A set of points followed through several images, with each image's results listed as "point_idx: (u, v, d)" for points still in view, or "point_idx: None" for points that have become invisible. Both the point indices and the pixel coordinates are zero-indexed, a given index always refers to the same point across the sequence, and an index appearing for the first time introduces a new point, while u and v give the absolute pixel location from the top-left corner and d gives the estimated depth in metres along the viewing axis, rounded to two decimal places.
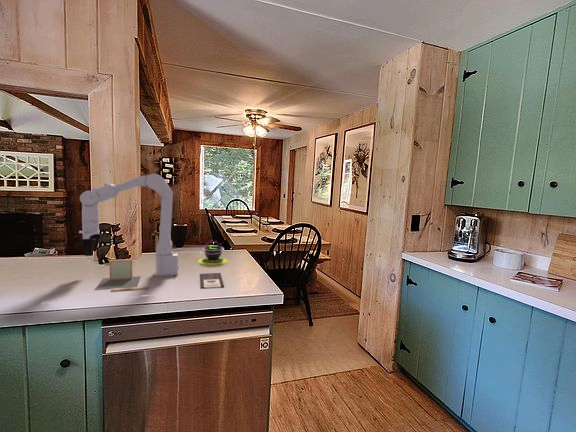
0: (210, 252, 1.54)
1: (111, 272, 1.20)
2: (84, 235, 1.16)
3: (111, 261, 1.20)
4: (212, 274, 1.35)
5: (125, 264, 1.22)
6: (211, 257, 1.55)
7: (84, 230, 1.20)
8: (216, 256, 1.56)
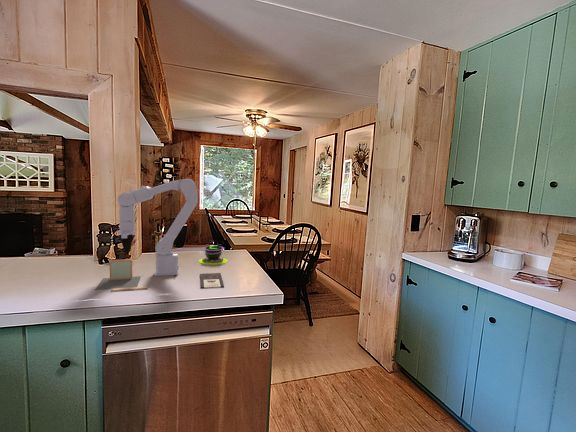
0: (210, 252, 1.55)
1: (111, 272, 1.20)
2: (123, 235, 1.22)
3: (111, 261, 1.20)
4: (213, 274, 1.35)
5: (125, 264, 1.22)
6: (211, 257, 1.55)
7: (121, 230, 1.26)
8: (216, 256, 1.56)
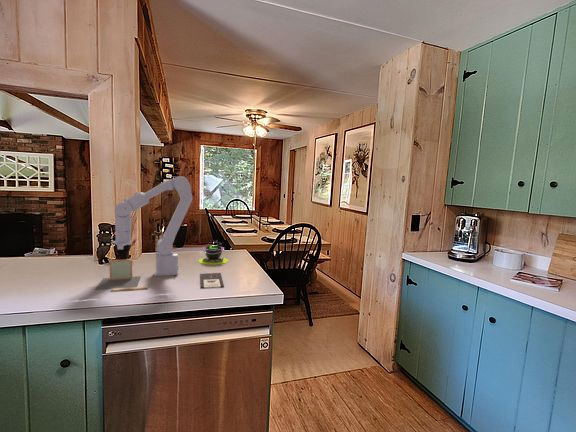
0: (210, 252, 1.55)
1: (111, 272, 1.20)
2: (119, 246, 1.19)
3: (111, 261, 1.20)
4: (213, 274, 1.35)
5: (125, 264, 1.22)
6: (211, 257, 1.56)
7: (118, 240, 1.24)
8: (216, 256, 1.56)
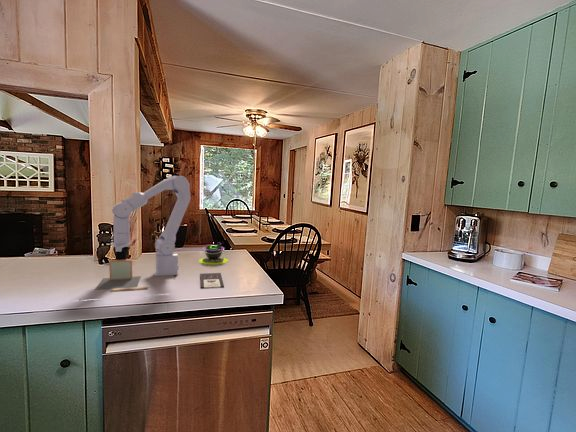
0: (210, 252, 1.55)
1: (111, 272, 1.20)
2: (117, 248, 1.16)
3: (111, 261, 1.20)
4: (213, 274, 1.35)
5: (125, 264, 1.21)
6: (211, 257, 1.56)
7: (116, 242, 1.20)
8: (216, 256, 1.56)
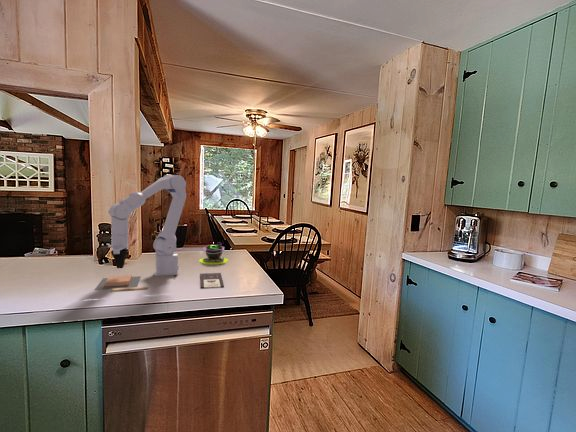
0: (211, 252, 1.55)
1: None
2: (115, 250, 1.12)
3: (107, 286, 1.14)
4: (213, 274, 1.35)
5: None
6: (212, 257, 1.56)
7: (114, 244, 1.16)
8: (217, 256, 1.57)
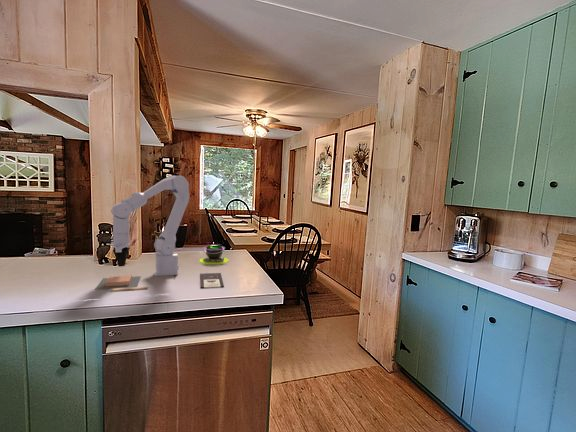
0: (211, 251, 1.56)
1: None
2: (117, 248, 1.15)
3: (107, 286, 1.14)
4: (213, 274, 1.35)
5: None
6: (212, 256, 1.56)
7: (115, 243, 1.19)
8: (217, 255, 1.57)
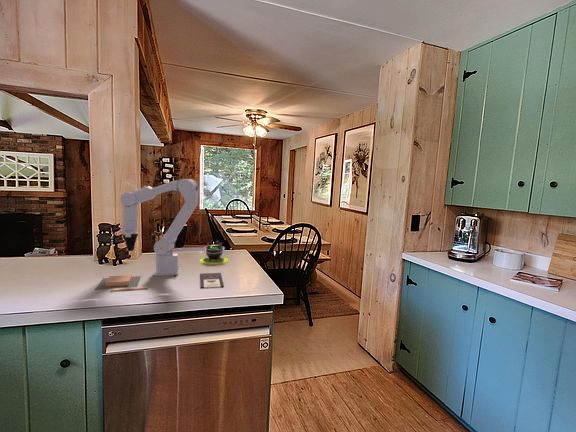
0: (211, 251, 1.56)
1: None
2: (126, 233, 1.24)
3: (107, 286, 1.14)
4: (213, 274, 1.35)
5: None
6: (212, 256, 1.57)
7: (125, 229, 1.29)
8: (217, 255, 1.57)
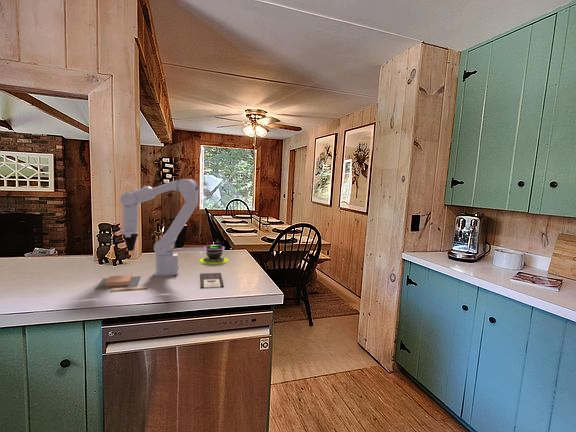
0: (211, 251, 1.56)
1: None
2: (126, 233, 1.24)
3: (107, 286, 1.14)
4: (213, 274, 1.35)
5: None
6: (212, 256, 1.57)
7: (125, 229, 1.29)
8: (217, 255, 1.57)
